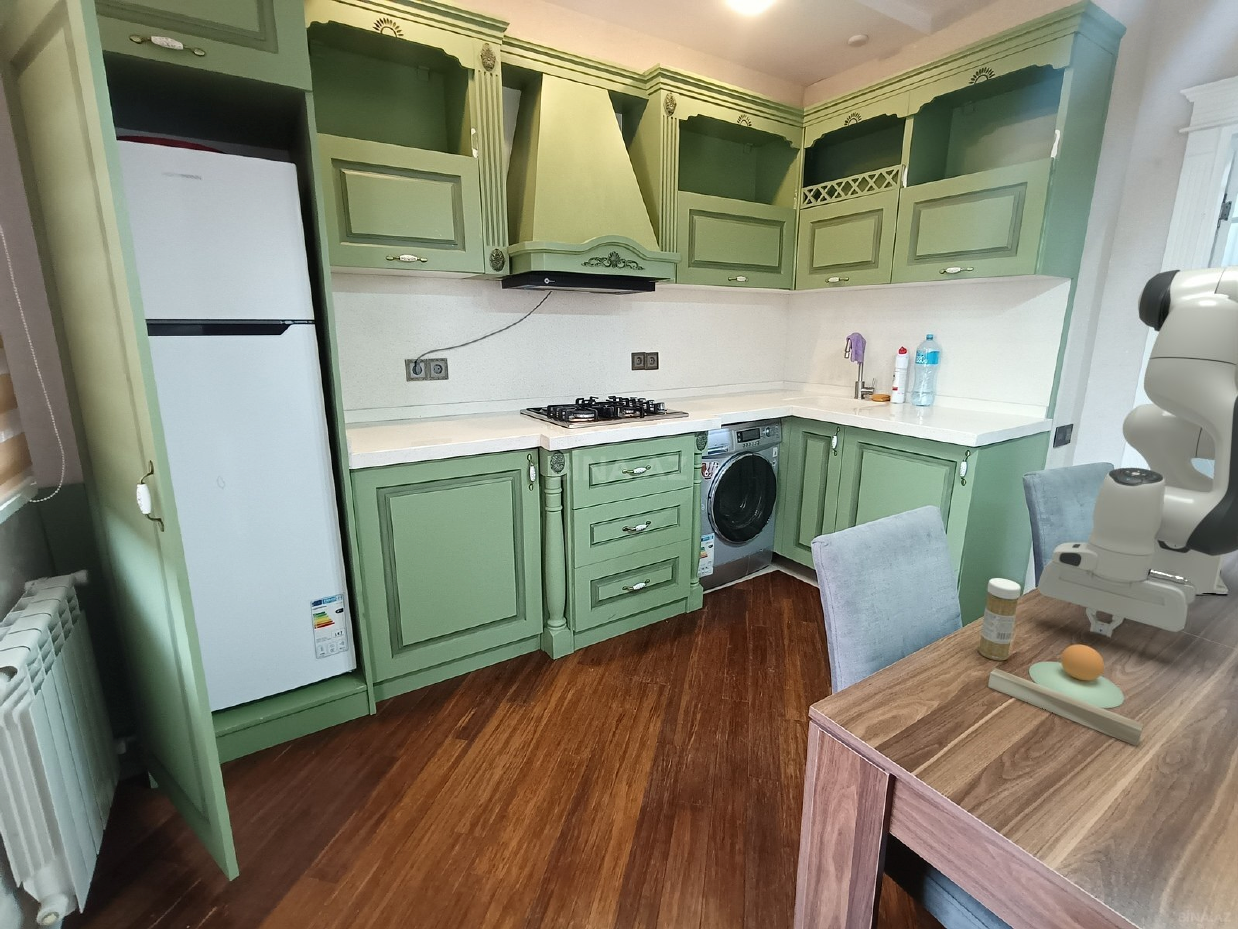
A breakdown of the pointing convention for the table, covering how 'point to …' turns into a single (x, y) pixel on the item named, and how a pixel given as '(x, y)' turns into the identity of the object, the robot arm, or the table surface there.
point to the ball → (1082, 662)
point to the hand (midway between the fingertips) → (1100, 633)
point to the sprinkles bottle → (999, 618)
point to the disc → (1076, 685)
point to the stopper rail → (1067, 706)
